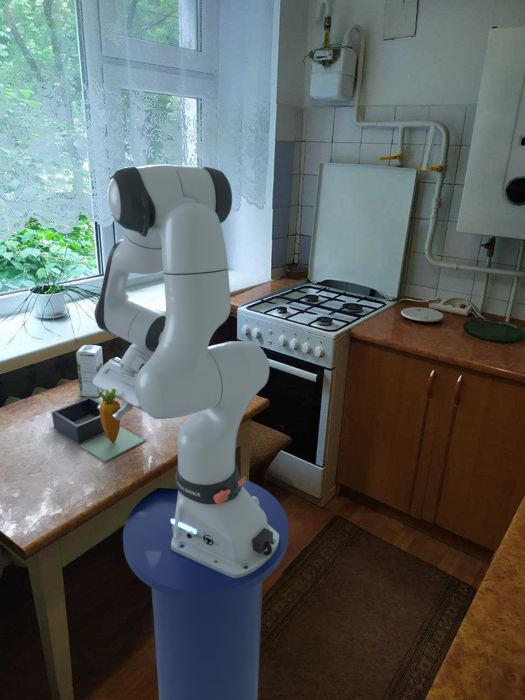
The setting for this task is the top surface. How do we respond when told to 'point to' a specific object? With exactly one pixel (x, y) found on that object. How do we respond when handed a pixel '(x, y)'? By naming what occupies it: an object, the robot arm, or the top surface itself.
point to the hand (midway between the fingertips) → (108, 414)
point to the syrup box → (89, 369)
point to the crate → (76, 411)
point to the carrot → (109, 415)
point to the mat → (112, 444)
